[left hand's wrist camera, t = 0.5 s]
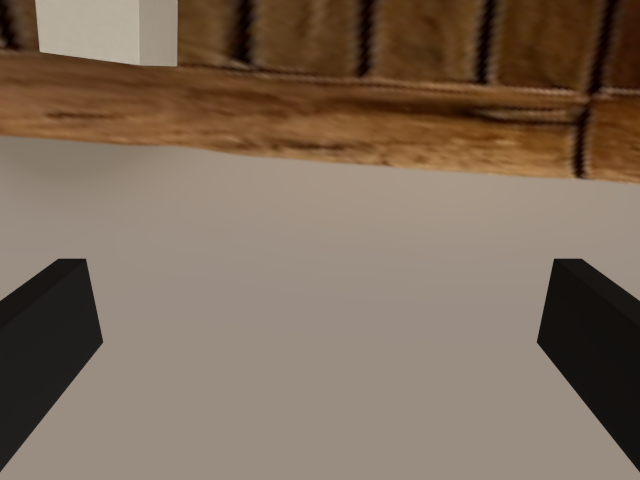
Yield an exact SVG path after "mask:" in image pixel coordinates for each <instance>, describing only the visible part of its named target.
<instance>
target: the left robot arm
mask: <svg viewBox="0 0 640 480" xmlns="http://www.w3.org/2000/svg"><path fill="white" fill-rule="evenodd" d="M102 343H103V339H102V334H101V330H100V325H99V320H98V315H97V310H96V305H95V300H94V296H93V291H92V286H91V281H90V276H89V271H88V267H87V262H86V259H57V260H56V261H55V262H53V263H52V264H51V265H49V266H48V267H46V268H45V269H44V270H42V271H41V272H40V273H38V274H37V275H35V276H34V277H33V278H31V279H30V280H29V281H27V282H26V283H24V284H23V285H22V286H20V287H19V288H17V289H16V290H15V291H13V292H12V293H11V294H9V295H8V296H7V297H5V298H4V299H2V300H1V301H0V472H1V470H2V469H3V468H4V467H5V465H6V464H7V463H8V462H9V460H10V459H11V458H12V457H13V455H14V454H15V453H16V452H17V450H18V449H19V448H20V447H21V445H22V444H23V443H24V441H25V440H26V439H27V438H28V436H29V435H30V434H31V433H32V431H33V430H34V429H35V428H36V426H37V425H38V424H39V423H40V421H41V420H42V419H43V418H44V416H45V415H46V414H47V413H48V411H49V410H50V409H51V407H52V406H53V405H54V404H55V402H56V401H57V400H58V399H59V397H60V396H61V395H62V394H63V392H64V391H65V390H66V388H67V387H68V386H69V385H70V383H71V382H72V381H73V380H74V378H75V377H76V376H77V375H78V373H79V372H80V371H81V370H82V368H83V367H84V366H85V365H86V363H87V362H88V361H89V360H90V358H91V357H92V356H93V354H94V353H95V352H96V351H97V349H98V348H99V347H100V346H101V344H102ZM537 343H538V344H539V346H540V347H541V348H542V349H543V351H544V352H545V353H546V355H547V356H548V357H549V358H550V359H551V361H552V362H553V363H554V365H555V366H556V367H557V368H558V370H559V371H560V372H561V373H562V375H563V376H564V377H565V378H566V380H567V381H568V382H569V384H570V385H571V386H572V387H573V389H574V390H575V391H576V392H577V394H578V395H579V396H580V397H581V399H582V400H583V401H584V402H585V404H586V405H587V406H588V407H589V409H590V410H591V411H592V413H593V414H594V415H595V416H596V418H597V419H598V420H599V421H600V423H601V424H602V425H603V426H604V428H605V429H606V430H607V431H608V433H609V434H610V435H611V436H612V438H613V439H614V440H615V442H616V443H617V444H618V445H619V447H620V448H621V449H622V450H623V452H624V453H625V454H626V455H627V457H628V458H629V459H630V460H631V462H632V463H633V464H634V465H635V467H636V468H637V469H638V471H639V472H640V301H639V300H638V299H636V298H635V297H633V296H632V295H631V294H629V293H628V292H627V291H625V290H624V289H623V288H621V287H620V286H618V285H617V284H616V283H614V282H613V281H611V280H610V279H609V278H607V277H606V276H605V275H603V274H602V273H600V272H599V271H598V270H596V269H595V268H594V267H592V266H591V265H589V264H588V263H587V262H585V261H584V260H583V259H554V262H553V267H552V272H551V276H550V281H549V286H548V291H547V296H546V300H545V305H544V310H543V315H542V320H541V325H540V329H539V334H538V339H537Z"/></svg>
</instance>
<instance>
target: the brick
mask: <svg viewBox="0 0 640 480" xmlns="http://www.w3.org/2000/svg"><path fill="white" fill-rule="evenodd" d="M35 3H36V14H37V25H38V36H39V48H40V52H44V53H52V54H59V55H67V56H74V57H81V58H89V59H96V60H104V61H111V62H119V63H126V64H134V65H148V66H177V25H178V0H35Z"/></svg>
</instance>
